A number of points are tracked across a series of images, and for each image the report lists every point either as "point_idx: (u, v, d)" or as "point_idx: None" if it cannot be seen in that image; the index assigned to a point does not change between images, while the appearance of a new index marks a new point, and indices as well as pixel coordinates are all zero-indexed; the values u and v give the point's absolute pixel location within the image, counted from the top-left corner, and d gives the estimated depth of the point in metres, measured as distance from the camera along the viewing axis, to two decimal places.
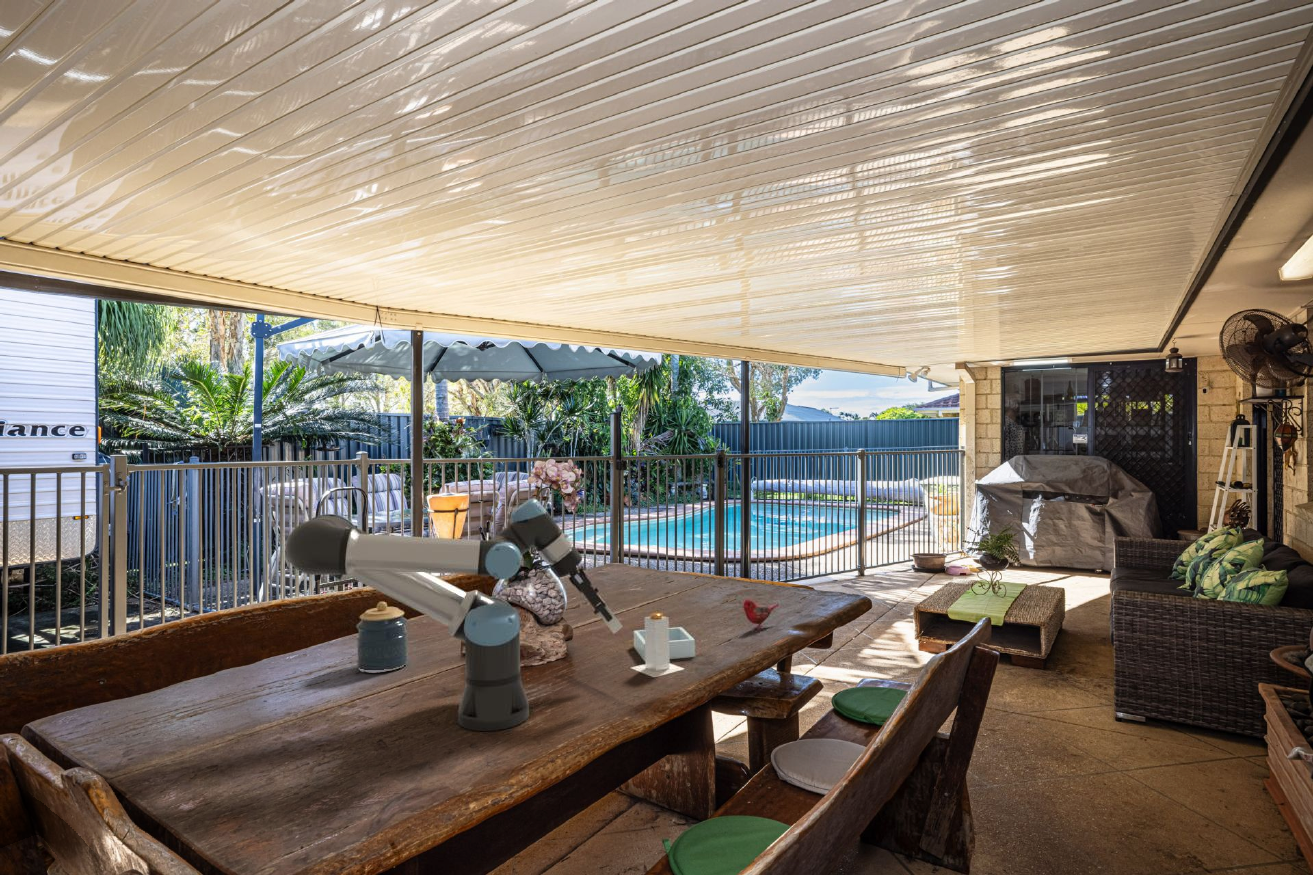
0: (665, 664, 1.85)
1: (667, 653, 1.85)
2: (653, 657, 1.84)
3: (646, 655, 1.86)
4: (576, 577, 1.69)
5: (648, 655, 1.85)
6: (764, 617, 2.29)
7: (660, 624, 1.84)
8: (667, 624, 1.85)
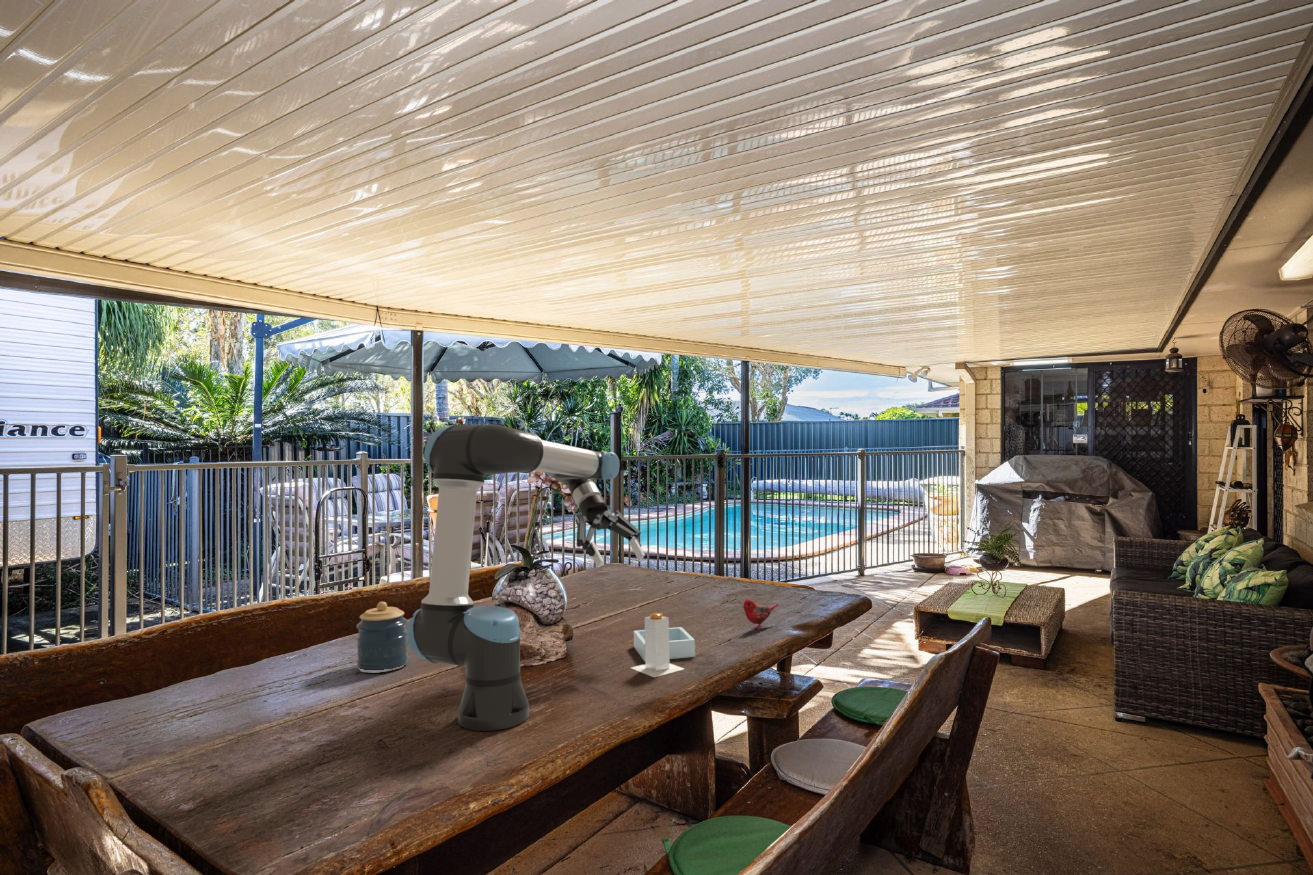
0: (665, 664, 1.85)
1: (667, 653, 1.85)
2: (653, 657, 1.84)
3: (646, 655, 1.86)
4: None
5: (648, 655, 1.85)
6: (764, 617, 2.29)
7: (660, 624, 1.84)
8: (667, 624, 1.85)
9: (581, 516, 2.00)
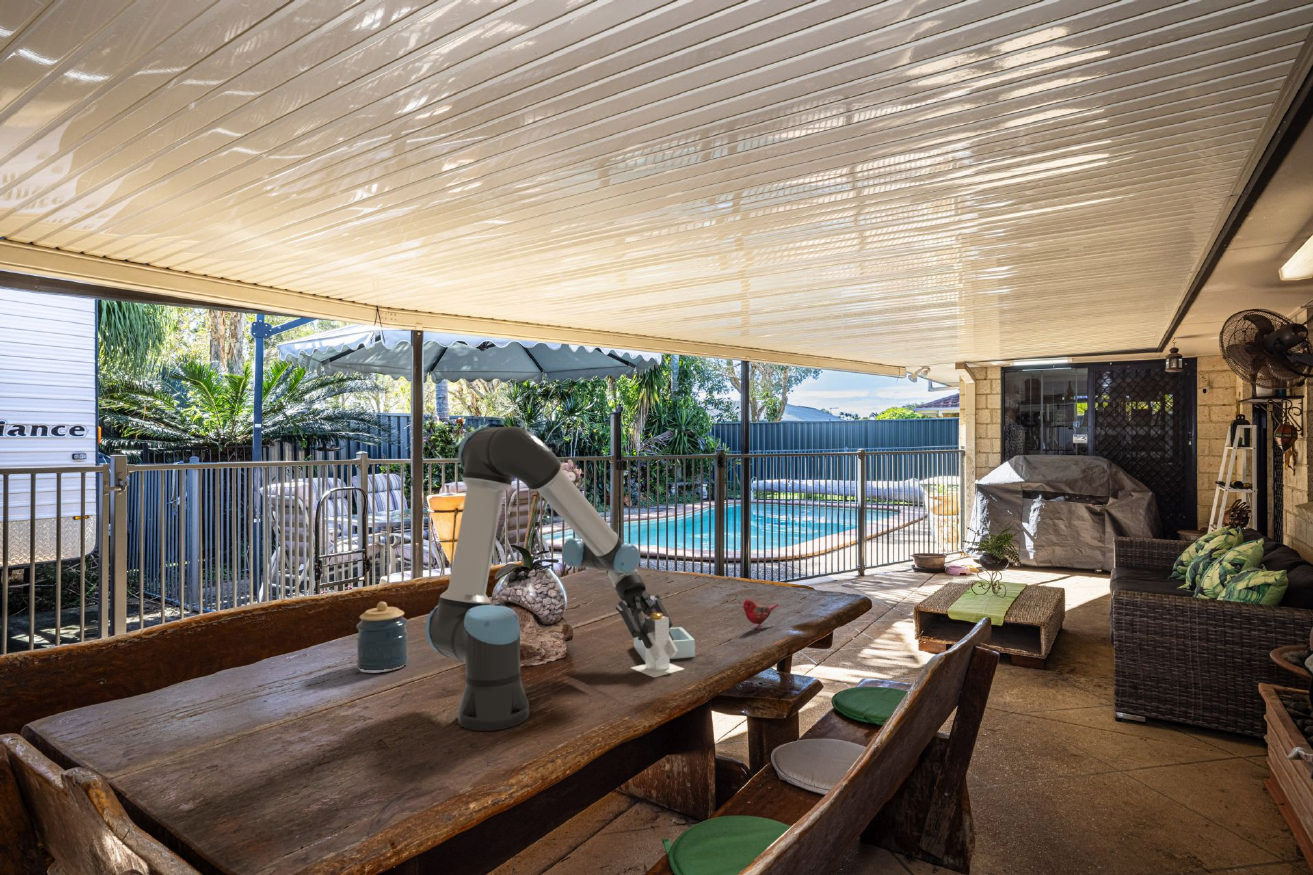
0: (665, 664, 1.85)
1: (667, 653, 1.85)
2: None
3: (646, 655, 1.86)
4: None
5: (648, 655, 1.85)
6: (764, 617, 2.29)
7: (660, 624, 1.84)
8: (667, 624, 1.85)
9: (622, 603, 1.88)
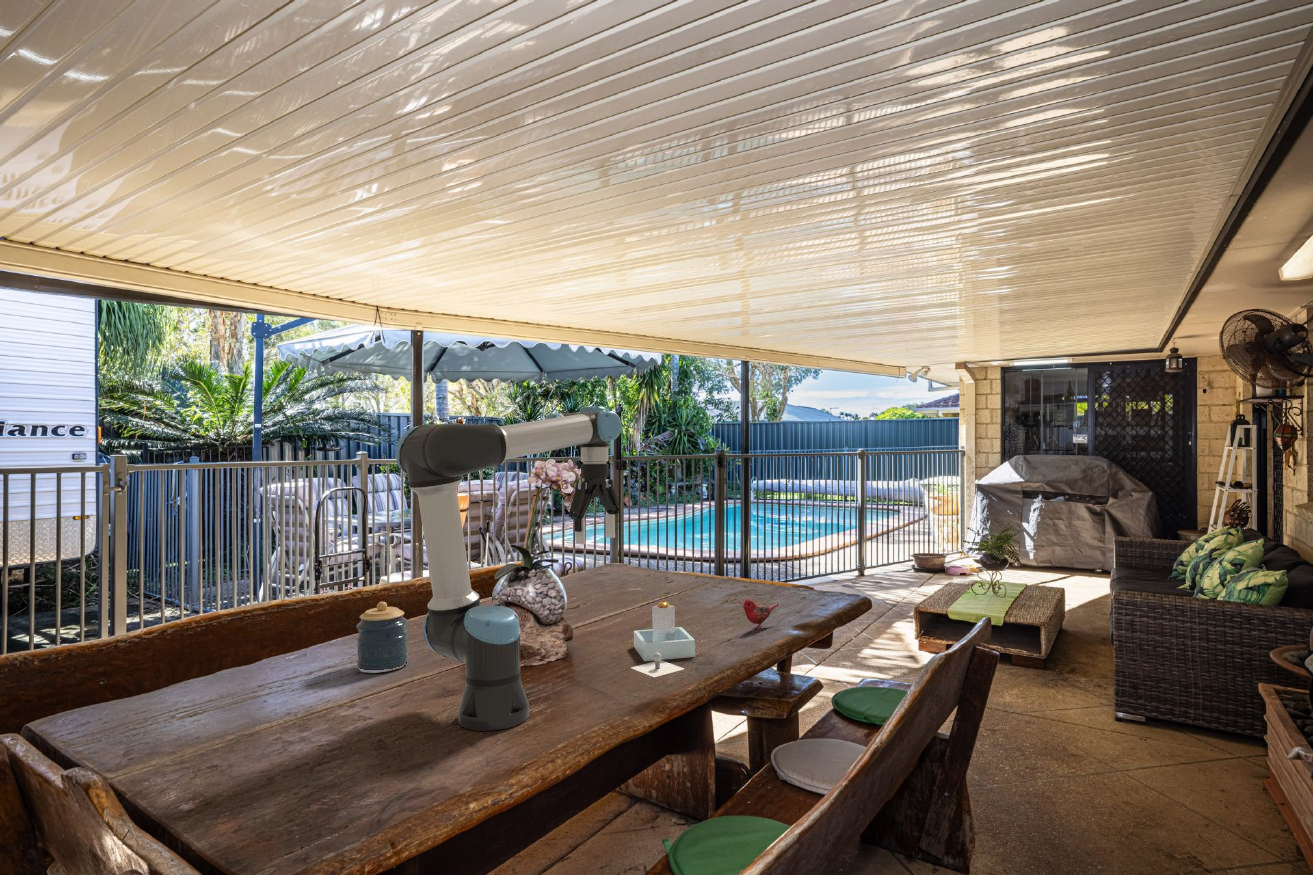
0: None
1: (673, 638, 2.01)
2: None
3: None
4: None
5: (656, 641, 2.00)
6: (764, 617, 2.29)
7: (668, 612, 1.99)
8: (673, 612, 2.01)
9: (584, 485, 1.93)
